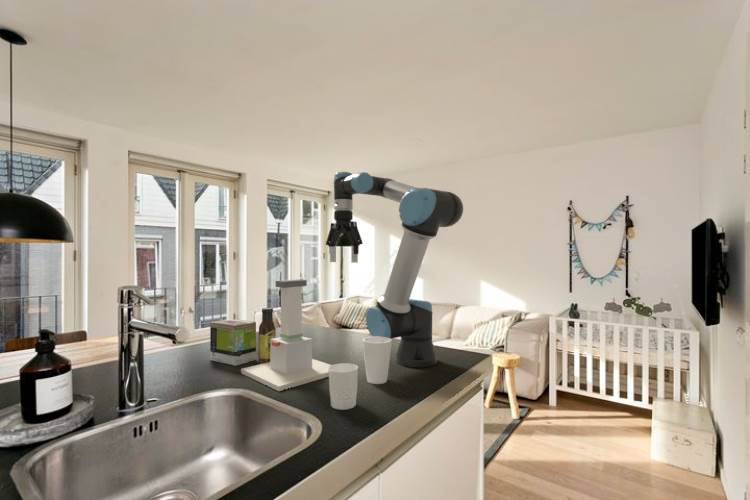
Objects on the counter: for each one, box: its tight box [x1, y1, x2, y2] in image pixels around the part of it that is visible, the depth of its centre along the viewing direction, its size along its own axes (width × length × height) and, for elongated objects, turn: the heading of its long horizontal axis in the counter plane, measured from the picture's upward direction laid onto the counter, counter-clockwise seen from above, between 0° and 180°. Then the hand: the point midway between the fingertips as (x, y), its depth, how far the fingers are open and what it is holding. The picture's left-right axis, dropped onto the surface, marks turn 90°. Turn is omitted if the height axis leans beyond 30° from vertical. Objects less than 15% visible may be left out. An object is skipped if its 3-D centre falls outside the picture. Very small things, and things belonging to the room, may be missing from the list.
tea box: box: [209, 318, 257, 367], centre depth 143 cm, size 15×10×15 cm, turn 58°
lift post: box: [275, 279, 308, 342], centre depth 128 cm, size 5×9×22 cm, turn 135°
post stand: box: [240, 336, 332, 392], centre depth 128 cm, size 24×24×12 cm
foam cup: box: [361, 336, 393, 385], centre depth 120 cm, size 10×9×13 cm
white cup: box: [328, 362, 359, 411], centre depth 101 cm, size 8×8×10 cm
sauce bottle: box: [257, 307, 277, 364], centre depth 141 cm, size 7×6×20 cm
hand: (343, 262), depth 155 cm, fingers open, 13 cm apart
